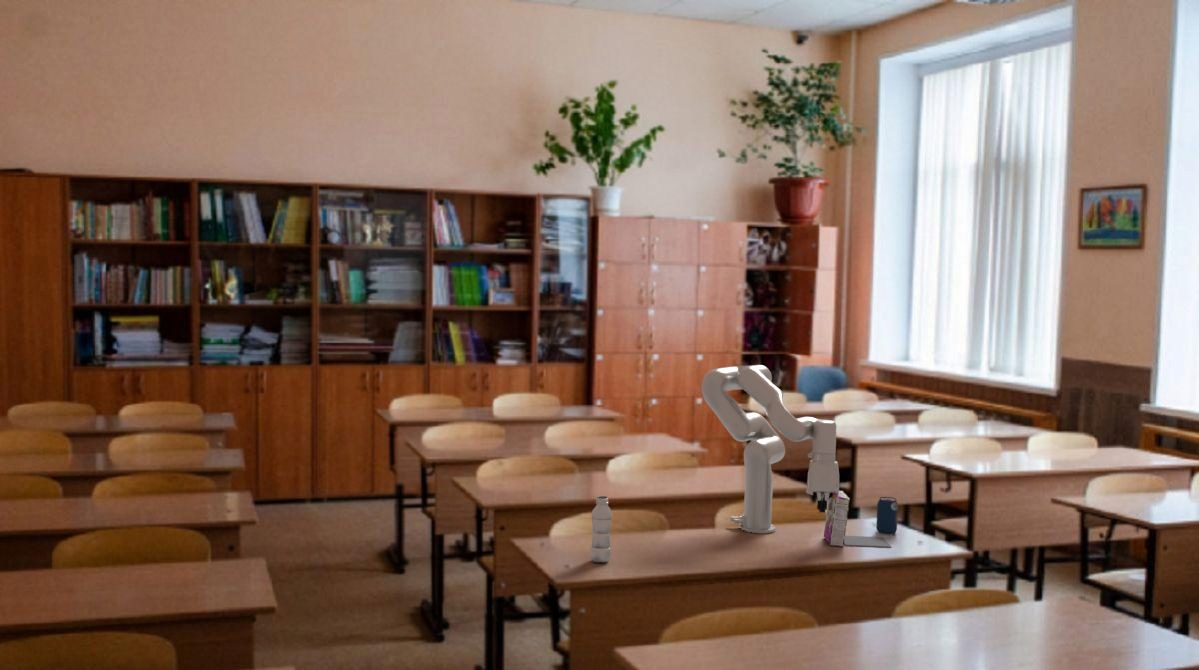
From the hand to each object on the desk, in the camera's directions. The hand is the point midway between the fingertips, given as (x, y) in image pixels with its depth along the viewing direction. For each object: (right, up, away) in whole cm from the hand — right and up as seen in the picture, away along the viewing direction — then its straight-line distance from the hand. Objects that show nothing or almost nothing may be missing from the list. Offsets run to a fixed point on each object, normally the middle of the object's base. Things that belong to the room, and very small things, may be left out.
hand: (821, 511), depth 356 cm
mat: (+15, -11, +2) cm, 18 cm away
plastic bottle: (-74, -11, -29) cm, 80 cm away
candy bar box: (+4, -10, +1) cm, 11 cm away
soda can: (+26, -10, +16) cm, 32 cm away
